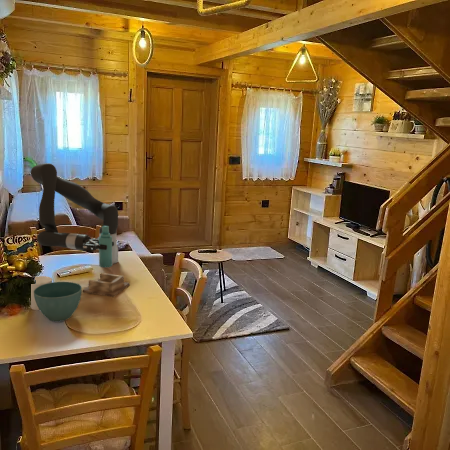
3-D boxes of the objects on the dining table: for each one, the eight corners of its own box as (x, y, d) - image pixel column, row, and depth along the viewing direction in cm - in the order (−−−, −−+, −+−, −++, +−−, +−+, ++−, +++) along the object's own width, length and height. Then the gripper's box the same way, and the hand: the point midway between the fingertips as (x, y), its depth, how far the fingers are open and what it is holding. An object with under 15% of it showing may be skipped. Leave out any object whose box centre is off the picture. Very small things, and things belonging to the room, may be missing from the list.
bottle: (106, 262, 221) (106, 224, 216) (115, 265, 218) (114, 226, 213) (96, 265, 216) (95, 226, 212) (105, 268, 213) (104, 228, 208)
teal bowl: (25, 320, 183) (23, 291, 180) (60, 305, 198) (59, 278, 196) (57, 331, 174) (56, 301, 172) (92, 314, 190) (91, 286, 188)
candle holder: (48, 311, 191) (46, 284, 189) (24, 310, 191) (23, 283, 189) (56, 302, 201) (55, 276, 198) (34, 301, 201) (33, 275, 198)
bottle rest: (82, 292, 214) (82, 281, 212) (100, 281, 229) (99, 271, 228) (114, 296, 210) (113, 285, 209) (129, 285, 225) (129, 275, 224)
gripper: (69, 237, 210) (102, 241, 206) (86, 230, 224) (117, 234, 220) (69, 253, 212) (102, 257, 208) (86, 245, 225) (117, 249, 222)
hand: (110, 245), depth 214 cm, fingers closed on bottle, 6 cm apart
